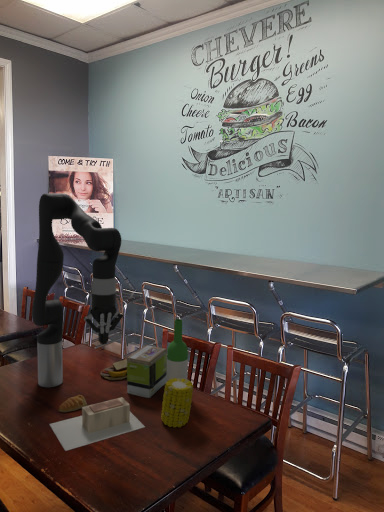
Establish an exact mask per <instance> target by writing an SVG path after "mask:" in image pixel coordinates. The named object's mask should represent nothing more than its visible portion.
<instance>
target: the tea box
mask: <svg viewBox="0 0 384 512" xmlns="http://www.w3.org/2000/svg"><path fill="white" fill-rule="evenodd" d="M167 349H168V348H164V347H157V346H151V345H147V344H145V345H143V346H142V347H141V348H139V349H138V350H136V351H135V352H133V353H131V354H130V355H128V356H127V357H126V359H127V378H126V390H127V391H126V393H127V394H130V395H133V396H134V395H135V396H138V397H143V398H147V399H150V398H151V397H152V396H154V395H155V394H156V393H157V391H159V390H160V389H161V388H162V387H163V386H165V384H166V377H167Z"/></svg>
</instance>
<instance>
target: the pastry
mask: <svg viewBox="0 0 384 512" xmlns="http://www.w3.org/2000/svg"><path fill="white" fill-rule="evenodd" d="M85 406H88V403H87V401H86V398H85V396H83V395H82V394H77V395H76V396H72V397H68V398H67V399H66V400H65V401H63V402H62V403H61V404H59V406H58V412H59V413H60V412H61V413H70V412H74V411H75V412H76V411H77V410H80V409H81V410H82V407H85Z"/></svg>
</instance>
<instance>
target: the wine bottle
mask: <svg viewBox="0 0 384 512" xmlns="http://www.w3.org/2000/svg"><path fill="white" fill-rule="evenodd" d="M166 349H167V377H166V382H167V381H169V380H170V379H173V378H176V379H178V378H180V379H181V380H182V379H186V380H188V366H189V365H188V364H189V348H188V346H187V344H186V342H184V341H183V319H182V318H175V319H174V327H173V340H172V341H171V342H170V343H169V344H168V346H167V348H166Z"/></svg>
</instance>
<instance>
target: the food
mask: <svg viewBox="0 0 384 512" xmlns="http://www.w3.org/2000/svg"><path fill="white" fill-rule="evenodd" d="M163 390H164V392H163V397H162V400H163V401H162V404H161V405H162V407H161V414H160V415H161V416H160V417H161V418H160V419H161V421H162V422H163V424H164V425H165V426H168V427H169V428H181V427H182V426H185V425H186V424H188V422H189V418H190V413H191V407H192V403H193V402H192V401H193V400H192V398H193V395H194V394H193V391H194V385H193V382H192V381H191V380H190V379H187V380H186V379H182V380H181V379H180V378H178V379H176V378H173V379H170V380H169V381H167V382H166V384H164V389H163Z"/></svg>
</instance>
